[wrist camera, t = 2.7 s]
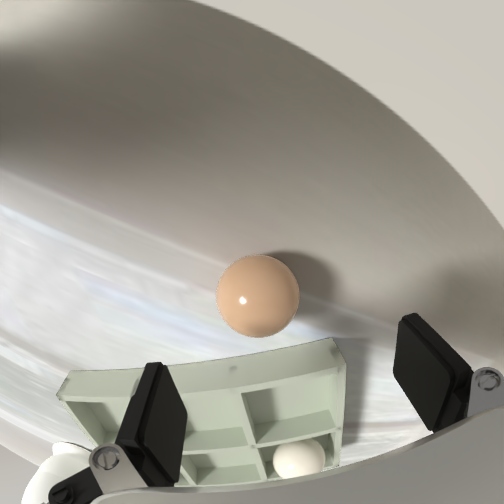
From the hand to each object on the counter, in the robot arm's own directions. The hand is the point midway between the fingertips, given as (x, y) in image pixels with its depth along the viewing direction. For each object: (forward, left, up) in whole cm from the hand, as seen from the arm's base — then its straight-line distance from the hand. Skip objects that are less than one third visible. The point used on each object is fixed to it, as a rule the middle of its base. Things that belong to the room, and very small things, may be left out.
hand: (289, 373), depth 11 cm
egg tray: (+13, -7, -8) cm, 16 cm away
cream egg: (+16, 0, -7) cm, 18 cm away
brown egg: (0, -1, -9) cm, 8 cm away
